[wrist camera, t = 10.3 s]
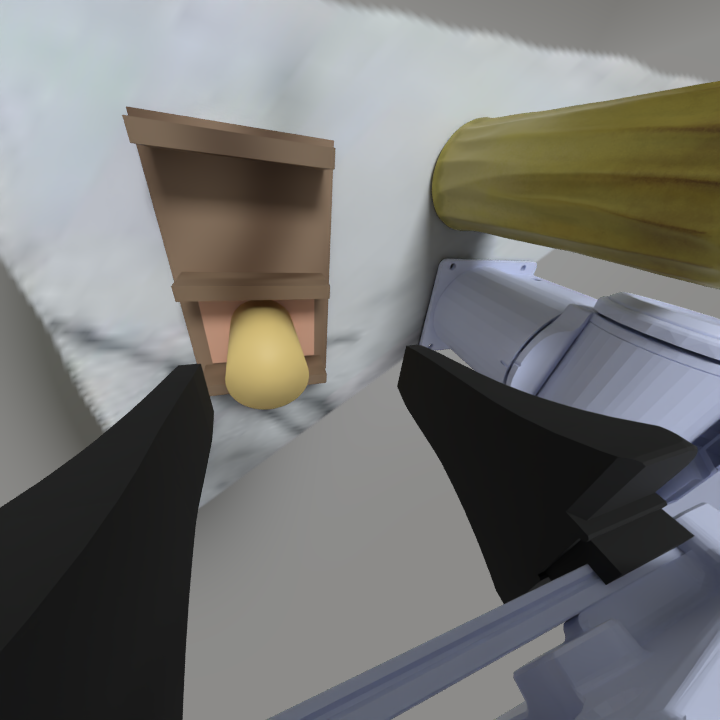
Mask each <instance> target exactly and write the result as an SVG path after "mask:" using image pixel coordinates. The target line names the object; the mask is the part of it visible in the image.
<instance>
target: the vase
mask: <svg viewBox="0 0 720 720" xmlns="http://www.w3.org/2000/svg"><path fill="white" fill-rule="evenodd" d="M432 198H433V204H434V207H435V210H436V213H437V215H438V217H439V218H440V219H441V220H442V222H443V223H445V224H446V225H447V226H448V227H450V228H452V229H454V230H459V231H478V232H483V233H487V234H492V235H496V236H500V237H504V238H508V239H513V240H518V241H523V242H527V243H532V244H536V245H541V246H546V247H550V248H555V249H560V250H565V251H571V252H575V253H579V254H582V255H586V256H590V257H594V258H598V259H602V260H606V261H609V262H614V263H617V264H621V265H625V266H629V267H633V268H637V269H640V270H644V271H648V272H651V273H655V274H659V275H662V276H666V277H671V278H675V279H679V280H683V281H687V282H691V283H695V284H699V285H702V286H706V287H710V288H715V289H720V81H717V82H711V83H705V84H699V85H693V86H687V87H682V88H677V89H671V90H665V91H660V92H654V93H648V94H643V95H637V96H631V97H626V98H620V99H615V100H609V101H603V102H596V103H589V104H583V105H577V106H571V107H565V108H559V109H553V110H547V111H540V112H530V113H522V114H515V115H510V116H504V117H498V118H489V117H483V118H478V119H475V120H472V121H470V122H468V123H466V124H464V125H463V126H462V127H460V128H459V129H458V130H457V131H456V132H455V133H454V134H453V135H452V136H451V137H450V139H449V140H448V142H447V143H446V144H445V146H444V148H443V149H442V151H441V153H440V156H439V158H438V160H437V163H436V166H435V170H434V174H433V180H432Z"/></svg>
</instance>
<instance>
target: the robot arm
mask: <svg viewBox="0 0 720 720" xmlns="http://www.w3.org/2000/svg"><path fill="white" fill-rule="evenodd" d="M451 264H453V266H452V268H450V266H451ZM521 267H522V268H521ZM536 267H537V264H536V262H533V261H509V260H477V259H444V260H442V261H441V262H440V264H439V268H438V272H437V276H436V280H435V284H434V288H433V292H432V296H431V300H430V304H429V308H428V312H427V316H426V320H425V324H424V328H423V332H422V336H421V340H420V344H419V345H410V346H406V349H405V354H404V358H403V363H402V367H401V372H400V377H399V381H398V386H397V387H398V389H399V391H400V394H401V396H402V399H403V401H404V403H405V405H406V407H407V409H408V410H409V412H410V414H411V415H412V417H413V418H414V420H415V421H416V423H417V425H418V426H419V428H420V429H421V431H422V432H423V434H424V435H425V437H426V439H427V440H428V442H429V443H430V445H431V446H432V448H433V450H434V451H435V453H436V454H437V456H438V458H439V460H440V461H441V463H442V465H443V467H444V469H445V471H446V473H447V475H448V477H449V479H450V481H451V483H452V485H453V487H454V489H455V491H456V493H457V495H458V498H459V500H460V502H461V504H462V506H463V508H464V510H465V513H466V515H467V517H468V520H469V522H470V524H471V527H472V529H473V531H474V534H475V536H476V538H477V541H478V543H479V546H480V548H481V551H482V554H483V556H484V559H485V562H486V564H487V567H488V569H489V572H490V574H491V577H492V580H493V583H494V586H495V589H496V591H497V593H498V595H499V596H500V598H501V600H502V601H503V603H504V605H502V606H499V607H497V608H495V609H493V610H491V611H489V612H487V613H485V614H483V615H481V616H479V617H477V618H475V619H473V620H471V621H469V622H466V623H464V624H462V625H460V626H458V627H456V628H454V629H452V630H450V631H448V632H446V633H444V634H442V635H440V636H438V637H436V638H434V639H432V640H429V641H427V642H425V643H423V644H421V645H419V646H417V647H415V648H413V649H411V650H409V651H407V652H405V653H403V654H401V655H399V656H396V657H395V658H392V659H390V660H388V661H386V662H384V663H382V664H380V665H378V666H376V667H374V668H372V669H370V670H368V671H365V672H363V673H361V674H360V675H357V676H355V677H353V678H351V679H349V680H347V681H345V682H343V683H341V684H339V685H337V686H335V687H332V688H330V689H328V690H326V691H325V692H322V693H320V694H318V695H316V696H314V697H312V698H310V699H308V700H306V701H304V702H302V703H300V704H297V705H296V706H293V707H291V708H289V709H287V710H285V711H283V712H281V713H279V714H277V715H275V716H273V717H271V718H269V719H267V720H391V719H393V718H395V717H397V716H398V715H400V714H402V713H404V712H405V711H407V710H409V709H411V708H412V707H414V706H416V705H418V704H420V703H422V702H423V701H425V700H427V699H429V698H430V697H432V696H434V695H436V694H438V693H439V692H441V691H443V690H445V689H446V688H448V687H450V686H452V685H453V684H455V683H457V682H459V681H461V680H462V679H464V678H466V677H468V676H470V675H471V674H473V673H475V672H477V671H478V670H480V669H482V668H484V667H486V666H487V665H489V664H491V663H493V662H494V661H496V660H498V659H500V658H502V657H503V656H505V655H507V654H509V653H510V652H512V651H514V650H516V649H518V648H519V647H521V646H523V645H525V644H526V643H528V642H530V641H532V640H534V639H535V638H537V637H539V636H541V635H542V634H544V633H545V632H547V631H550V630H551V629H553V628H555V627H557V626H558V625H560V624H562V623H564V622H565V623H564V633H565V642H564V643H562V644H560V645H559V646H557V647H555V648H553V649H551V650H549V651H548V652H546V653H544V654H543V655H540V656H539V657H537V658H535V659H533V660H532V661H530V662H529V663H527V664H525V665H524V666H522V667H521V668H519V669H518V670H516V671H515V672H514V677H513V678H514V680H515V682H516V683H517V686H518V687H519V689H520V691H521V693H522V695H523V697H524V699H525V701H524V702H523V703H521V704H519V705H518V706H516V707H514V708H513V709H511V710H509V711H508V712H506V713H505V714H503V715H501V716H499V717H498V718H496V719H494V720H720V319H718V318H715V317H712V316H709V315H706V314H702V313H699V312H695V311H692V310H689V309H686V308H682V307H679V306H675V305H672V304H669V303H665V302H662V301H658V300H654V299H651V298H647V297H644V296H640V295H635V294H631V293H626V292H619V293H616V294H613V295H610V296H609V297H608V296H603V297H600V298H599V299H598V300H597V299H595V298H593V297H591V296H588V295H585V294H582V293H580V292H577V291H574V290H572V289H569V288H566V287H564V286H561V285H558V284H556V283H553V282H550V281H548V280H545V279H542V278H539V277H537V276H534V272H535V270H536ZM430 344H431V345H430ZM429 345H430V346H429ZM444 349H451V350H453V351H454V352H455V353H456V354H457V355H458V356H459V357H460V358H461V359H462V360H464V361H465V362H466V363H467V364H468V365H469V366H470V367H471V368H472V369H474V370H475V371H474V370H472V369H470V368H468V367H466V366H464V365H462V364H460V363H458V362H456V361H454V360H452V359H449V358H448V357H446V356H444V355H442V354H440V353H437V352H436V351H434V350H444ZM213 419H214V410H213V406H212V403H211V399H210V395H209V392H208V388H207V384H206V380H205V377H204V373H203V369H202V365H201V364H191V365H179V366H178V367H176V368H175V369H174V370H173V371H172V372H171V373H170V374H169V375H168V376H167V377H166V378H165V379H164V380H163V381H162V382H161V383H160V384H159V385H158V386H157V387H156V388H155V389H153V390H152V391H151V392H150V393H149V394H148V395H147V396H146V397H145V398H144V399H143V400H142V401H141V402H140V403H138V404H137V405H136V406H135V407H134V408H133V409H132V410H131V411H130V412H129V413H127V414H126V415H125V416H124V417H123V418H121V419H120V420H119V421H118V422H117V423H116V424H114V425H113V426H112V427H111V428H110V429H109V430H107V431H106V432H105V433H104V434H103V435H101V436H100V437H99V438H98V439H97V440H95V441H94V442H93V443H92V444H90V445H89V446H88V447H86V448H85V449H84V450H83V451H81V452H80V453H79V454H77V455H76V456H75V457H73V458H72V459H71V460H69V461H68V462H66V463H65V464H64V465H62V466H61V467H60V468H58V469H57V470H55V471H54V472H53V473H51V474H50V475H49V476H47V477H46V478H44V479H43V480H41V481H40V482H39V483H37V484H36V485H34V486H33V487H31V488H29V489H28V490H26V491H25V492H23V493H22V494H20V495H19V496H18V497H16V498H14V499H13V500H11V501H10V502H8V503H7V504H5V505H4V506H2V507H1V508H0V720H182V719H183V716H182V715H183V692H184V673H185V652H186V636H187V621H188V604H189V593H190V580H191V568H192V557H193V547H194V536H195V526H196V519H197V513H198V507H199V502H200V497H201V492H202V487H203V483H204V478H205V473H206V468H207V463H208V458H209V453H210V448H211V443H212V435H213Z"/></svg>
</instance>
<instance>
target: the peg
mask: <svg viewBox="0 0 720 720" xmlns="http://www.w3.org/2000/svg"><path fill="white" fill-rule="evenodd" d="M308 380H309V370H308V366H307V363H306V360H305V357H304V354H303V351H302V348H301V345H300V342H299V339H298V336H297V333H296V330H295V327H294V324H293V321H292V318H291V316H290V314H289V312H288V311H287V310H286V309H285V308H284V307H283V306H282V305H281V304H279V303H277V302H275V301H272V300H250V301H247V302H245V303H243V304H242V305H240V306H239V307H238V308H237V309H236V310H235V312H234V313H233V315H232V317H231V322H230V332H229V343H228V354H227V365H226V376H225V383H226V387H227V390H228V392H229V393H230V395H231V396H232V397H233V398H234V399H235V400H236V401H237V402H239V403H241V404H243V405H245V406H247V407H250V408H254V409H274V408H278V407H282V406H284V405H287V404H289V403H290V402H292V401H294V400H295V399H296V398H298V397H299V396H300V395H301V394H302V392H303V391H304V389H305V388H306V386H307V383H308Z"/></svg>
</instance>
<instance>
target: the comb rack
mask: <svg viewBox="0 0 720 720" xmlns="http://www.w3.org/2000/svg"><path fill="white" fill-rule="evenodd" d="M126 109H127V113H128V116H127V115H122V116H123V119H124V123H125V126H126V130H127V133H128V137H129V140H130V143H134V144H136V145H137V149H138V152H139V156H140V160H141V163H142V167H143V170H144V174H145V178H146V181H147V185H148V188H149V192H150V196H151V199H152V203H153V206H154V210H155V214H156V217H157V221H158V225H159V228H160V232H161V235H162V239H163V243H164V246H165V250H166V253H167V257H168V261H169V264H170V268H171V271H172V275H173V279H174V283H173V285H172V286H171V287H172V291H173V294H174V298H175V301H176V302H180V304H181V308H182V311H183V315H184V318H185V322H186V326H187V329H188V333H189V336H190V340H191V344H192V347H193V351H194V354H195V358H196V362H197V364H201V365H202V369H203V373H204V377H205V380H206V384H207V388H208V392H209V395H210V396H216V395H224V394H230V393H229V392H228V390H227V387H226V383H225V376H226V365H227V354H228V343H229V332H230V322H231V317H232V315H233V313H234V312H235V310H236V309H237V308H238V307H239V306H240V305H242V304H243V303H245V302H247V301H250V300H272V301H275V302H277V303H279V304H281V305H282V306H283V307H284V308H285V309H286V310H287V311H288V312H289V314H290V316H291V318H292V321H293V324H294V327H295V330H296V333H297V336H298V339H299V342H300V345H301V348H302V351H303V354H304V357H305V360H306V363H307V366H308V370H309V380H308V383H307V385H310V384H318V383H326V376H327V373H326V371H325V368H326V346H327V319H328V299H330V285H329V263H330V235H331V207H332V179H333V169H335V148H334V141H333V140H327V139H320V138H314V137H308V136H302V135H296V134H290V133H284V132H278V131H272V130H266V129H260V128H254V127H247V126H241V125H235V124H229V123H223V122H217V121H211V120H205V119H199V118H193V117H187V116H181V115H174V114H168V113H162V112H156V111H150V110H144V109H138V108H132V107H126Z"/></svg>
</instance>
